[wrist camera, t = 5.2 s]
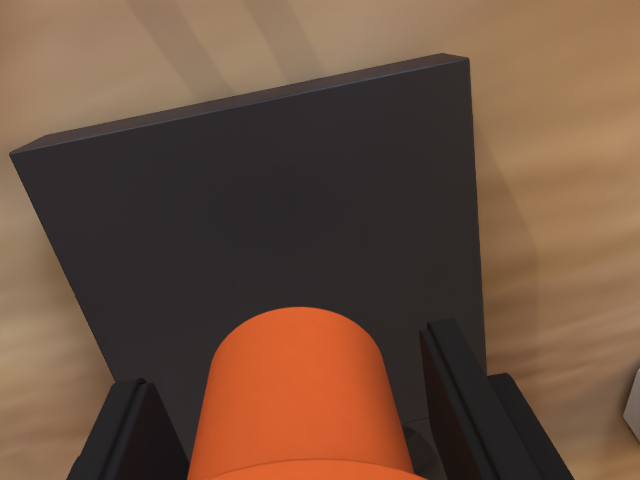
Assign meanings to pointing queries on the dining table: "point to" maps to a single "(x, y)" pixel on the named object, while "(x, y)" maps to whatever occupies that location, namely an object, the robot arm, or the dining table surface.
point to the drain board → (273, 225)
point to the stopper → (299, 404)
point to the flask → (634, 407)
